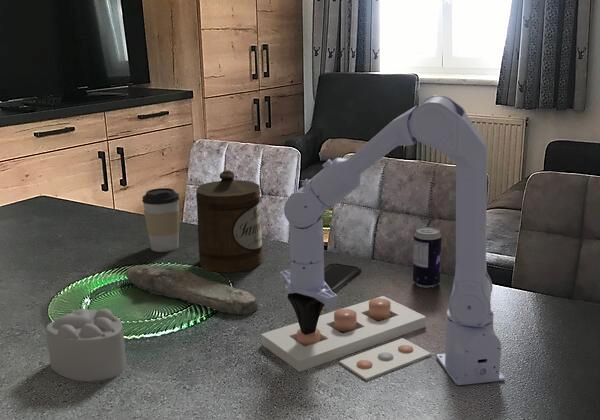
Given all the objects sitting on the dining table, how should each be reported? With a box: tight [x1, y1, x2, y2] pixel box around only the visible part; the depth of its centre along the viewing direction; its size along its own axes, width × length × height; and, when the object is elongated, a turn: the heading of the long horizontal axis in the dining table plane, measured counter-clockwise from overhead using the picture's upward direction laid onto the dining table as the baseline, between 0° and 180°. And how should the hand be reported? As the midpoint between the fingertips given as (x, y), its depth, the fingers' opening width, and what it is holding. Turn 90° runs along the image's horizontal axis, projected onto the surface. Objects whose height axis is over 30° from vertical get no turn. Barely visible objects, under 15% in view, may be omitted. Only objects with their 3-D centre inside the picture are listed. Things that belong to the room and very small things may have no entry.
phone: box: [324, 262, 362, 294], centre depth 149 cm, size 8×1×15 cm
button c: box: [297, 328, 320, 347], centre depth 118 cm, size 4×4×2 cm
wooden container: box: [195, 170, 263, 273], centre depth 158 cm, size 15×15×22 cm
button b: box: [334, 308, 357, 332], centre depth 122 cm, size 4×4×2 cm
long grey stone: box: [125, 264, 259, 315], centre depth 142 cm, size 35×5×10 cm
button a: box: [369, 297, 391, 321], centre depth 126 cm, size 4×4×2 cm
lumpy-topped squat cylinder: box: [45, 308, 128, 382], centre depth 114 cm, size 10×13×9 cm
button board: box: [260, 295, 427, 373], centre depth 123 cm, size 28×12×2 cm, turn 124°
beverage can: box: [412, 226, 442, 289], centre depth 143 cm, size 6×6×12 cm
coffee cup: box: [141, 187, 180, 253], centre depth 170 cm, size 9×9×15 cm
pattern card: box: [338, 337, 432, 382], centre depth 114 cm, size 14×7×1 cm, turn 124°
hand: (308, 332), depth 118 cm, fingers closed, pressing on button c
